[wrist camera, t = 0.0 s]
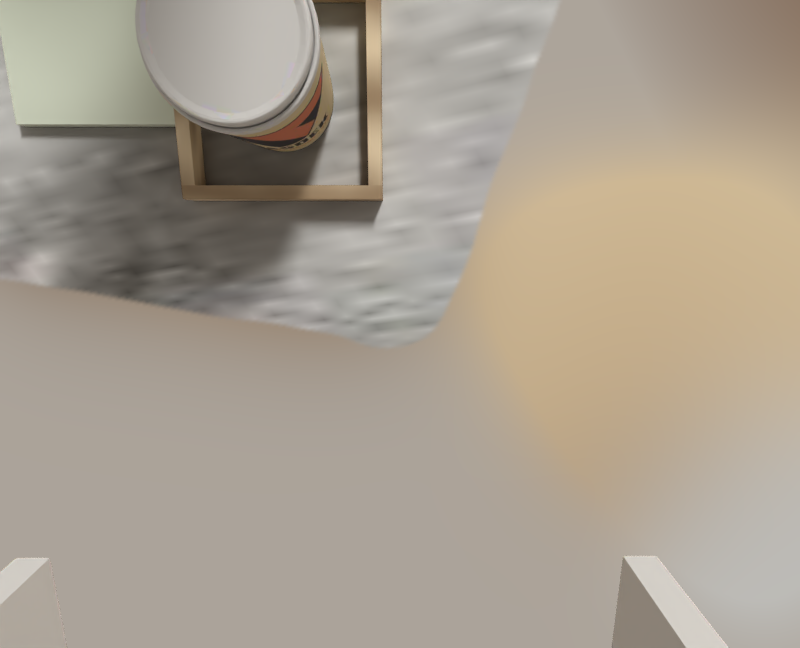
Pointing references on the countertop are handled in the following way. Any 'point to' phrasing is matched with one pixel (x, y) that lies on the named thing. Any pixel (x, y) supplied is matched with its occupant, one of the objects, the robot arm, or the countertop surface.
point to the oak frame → (199, 191)
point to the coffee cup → (240, 67)
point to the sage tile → (78, 65)
